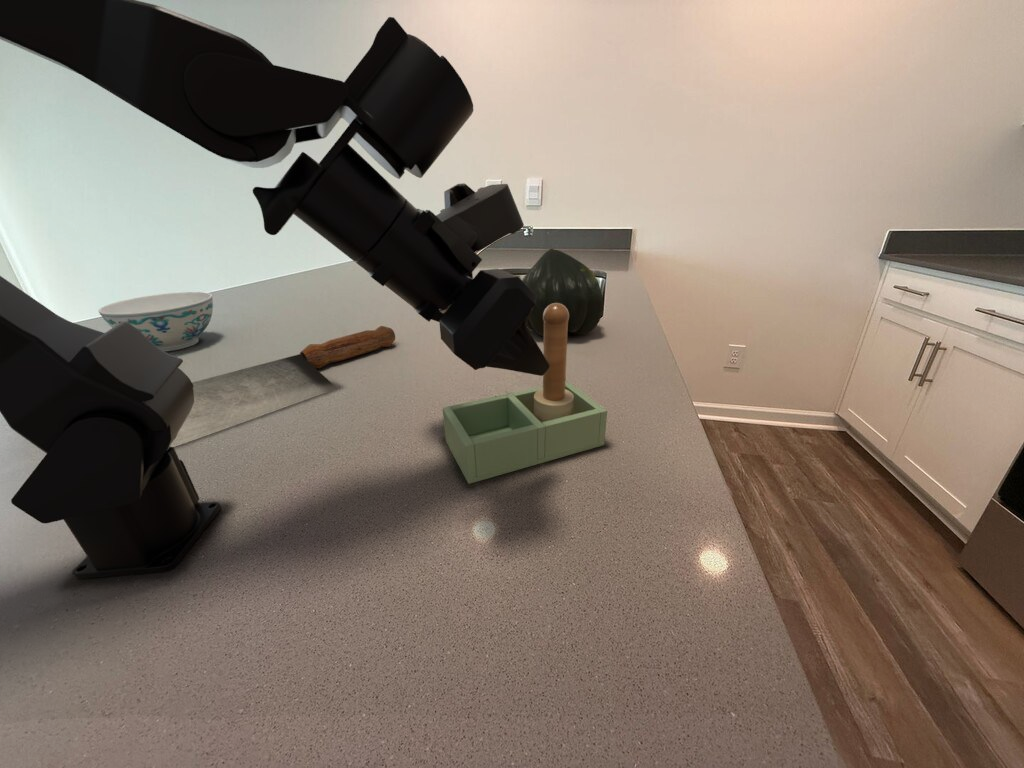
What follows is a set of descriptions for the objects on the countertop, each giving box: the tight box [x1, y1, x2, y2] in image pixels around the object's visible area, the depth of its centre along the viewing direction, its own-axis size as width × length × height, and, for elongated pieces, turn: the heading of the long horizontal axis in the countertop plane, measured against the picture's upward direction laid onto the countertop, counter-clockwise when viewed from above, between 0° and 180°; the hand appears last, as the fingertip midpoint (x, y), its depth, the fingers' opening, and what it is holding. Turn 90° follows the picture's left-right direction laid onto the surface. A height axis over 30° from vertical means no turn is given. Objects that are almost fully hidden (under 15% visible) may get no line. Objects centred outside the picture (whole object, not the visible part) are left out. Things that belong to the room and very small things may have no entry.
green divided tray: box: [442, 380, 608, 485], centre depth 41 cm, size 14×8×4 cm, turn 114°
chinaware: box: [98, 291, 214, 352], centre depth 70 cm, size 15×15×8 cm
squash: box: [521, 248, 604, 337], centre depth 72 cm, size 14×15×15 cm
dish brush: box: [534, 303, 574, 423], centre depth 40 cm, size 4×4×13 cm
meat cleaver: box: [170, 325, 396, 448], centre depth 56 cm, size 34×11×4 cm, turn 139°
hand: (522, 352), depth 37 cm, fingers open, 9 cm apart
